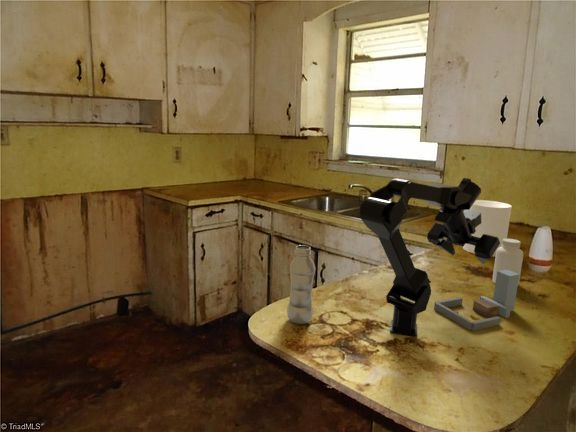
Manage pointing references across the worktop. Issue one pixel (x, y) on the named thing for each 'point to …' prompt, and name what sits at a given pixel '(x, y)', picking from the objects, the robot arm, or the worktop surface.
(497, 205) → the canister
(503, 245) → the pill bottle
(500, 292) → the grey upright block
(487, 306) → the block
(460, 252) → the worktop surface
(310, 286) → the plastic bottle
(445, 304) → the grey u-shaped bar
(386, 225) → the robot arm
